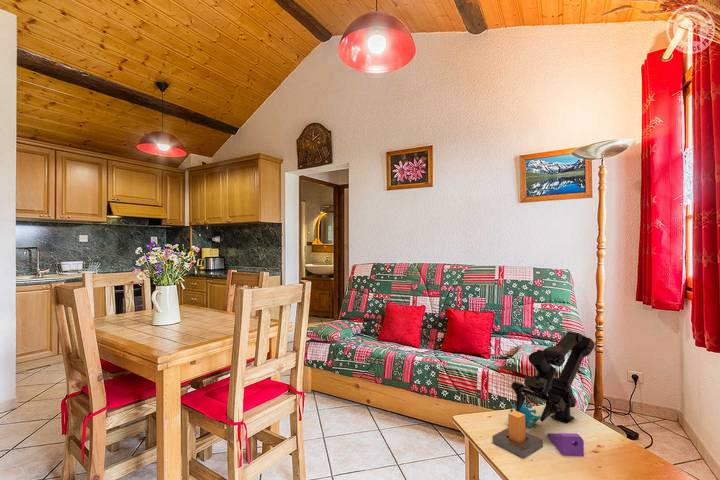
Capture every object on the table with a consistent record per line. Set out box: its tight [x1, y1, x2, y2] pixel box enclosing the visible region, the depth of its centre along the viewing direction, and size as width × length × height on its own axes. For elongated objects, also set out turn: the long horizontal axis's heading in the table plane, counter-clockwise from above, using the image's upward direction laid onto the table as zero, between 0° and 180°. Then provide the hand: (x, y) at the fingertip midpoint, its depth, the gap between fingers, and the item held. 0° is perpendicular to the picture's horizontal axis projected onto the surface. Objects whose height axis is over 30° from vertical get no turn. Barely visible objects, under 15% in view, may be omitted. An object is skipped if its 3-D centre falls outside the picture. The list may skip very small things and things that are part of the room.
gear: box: [509, 401, 541, 429], centre depth 147 cm, size 11×6×10 cm
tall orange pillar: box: [507, 410, 526, 444], centre depth 131 cm, size 4×4×11 cm
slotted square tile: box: [491, 426, 544, 459], centre depth 131 cm, size 12×12×2 cm
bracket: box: [547, 432, 585, 457], centre depth 130 cm, size 12×7×7 cm, turn 175°
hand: (528, 415), depth 135 cm, fingers open, 9 cm apart
